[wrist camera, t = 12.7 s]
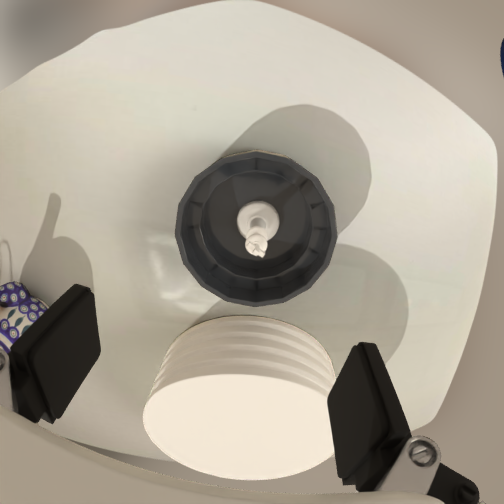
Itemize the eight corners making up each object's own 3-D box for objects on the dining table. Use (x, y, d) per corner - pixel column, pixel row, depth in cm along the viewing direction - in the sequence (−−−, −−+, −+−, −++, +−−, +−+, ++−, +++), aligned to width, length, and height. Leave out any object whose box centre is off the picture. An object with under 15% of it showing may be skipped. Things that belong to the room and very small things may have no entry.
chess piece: (261, 249, 36) (260, 289, 27) (228, 224, 35) (215, 257, 26) (288, 218, 34) (296, 248, 25) (254, 191, 33) (250, 213, 24)
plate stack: (213, 440, 52) (206, 485, 42) (131, 344, 43) (103, 394, 33) (348, 408, 47) (360, 458, 36) (302, 287, 38) (314, 342, 28)
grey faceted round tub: (201, 139, 32) (188, 139, 26) (339, 168, 33) (354, 174, 27) (182, 267, 38) (169, 289, 32) (305, 291, 38) (311, 317, 33)
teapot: (85, 377, 48) (53, 431, 34) (32, 358, 48) (-3, 402, 34) (56, 261, 39) (-5, 308, 25) (0, 250, 39) (-55, 286, 25)
